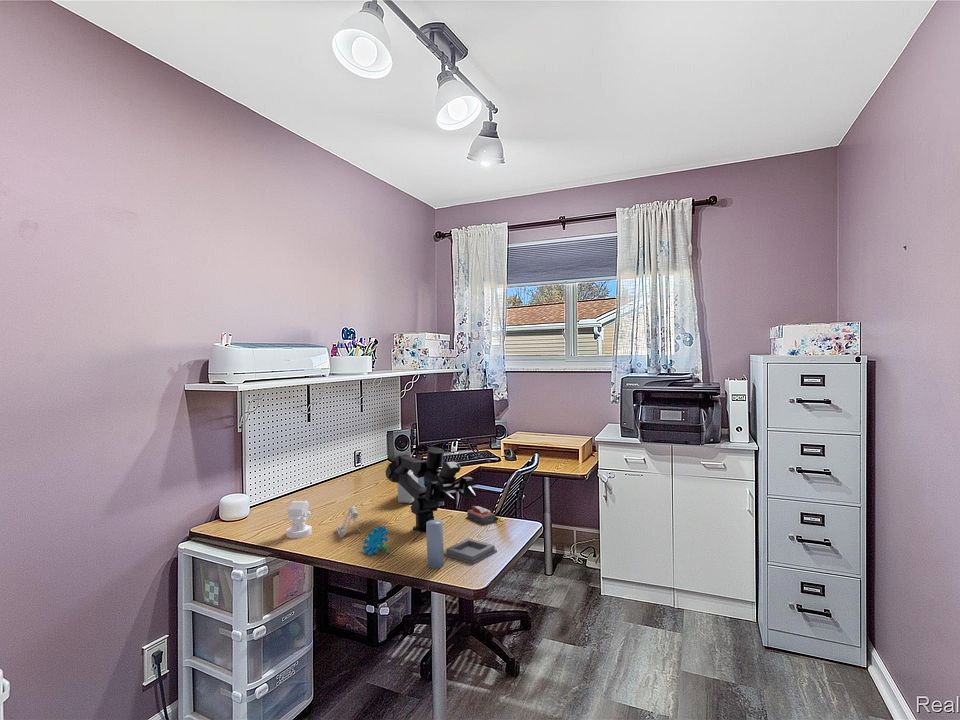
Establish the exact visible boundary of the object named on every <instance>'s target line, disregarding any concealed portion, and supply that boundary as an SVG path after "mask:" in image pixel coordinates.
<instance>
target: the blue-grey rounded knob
mask: <svg viewBox="0 0 960 720" xmlns="http://www.w3.org/2000/svg"><path fill="white" fill-rule="evenodd" d="M443 523H444V521H443V520H440V519H434V520H430V521H427V522H426V532H425V533H426V556H427V557H426V564H427V565H426V566H427V568H429V569H440V568H442V567H444V566H445V561H444V560H445V555H444V553H445V551H444V524H443Z"/></svg>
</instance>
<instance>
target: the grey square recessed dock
mask: <svg viewBox="0 0 960 720" xmlns="http://www.w3.org/2000/svg"><path fill="white" fill-rule="evenodd" d="M445 551H446V552H444V556H446V557H449V558H451V559H455V560H458V561H461V562H465V563H468V564H471V565H474V564H476V563H478V562H480V561H482V560H484V559H485V558H487V557H489V556H491V555H493V554H495V553H497V552H498V550H497V549H496V548H495V545H494V544H492V543H491V544H490V543H487V542H484V541H480V540H476V539H472V538H468V537H467V538H466V539H464V540H462V541H460V542H457V543H456V544H454V545H452V546H451V545H450V547H447V548H446V550H445Z"/></svg>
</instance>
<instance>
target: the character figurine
mask: <svg viewBox="0 0 960 720" xmlns="http://www.w3.org/2000/svg"><path fill="white" fill-rule="evenodd" d="M311 507H312V505H311V504H310V503H309V502H308V500H292V502H290V503H289V506H288V508H287V509H286V510H287V515H288V516H286V521H287V520H288V521H289V520H291V522H292V523H291V524H290V525H291V526H290V527H288V528H287V529H286V531H285V532H286V533H285V534H286V537H287V538H288V537H289V539H300V538H304V537H305V538H306V537H308V536H310V535H312V533H313V531H312V526H311V525H309V524H306V522H307V521H308V519H309V517H310V516H311V515H312V513H311V511H310V508H311Z"/></svg>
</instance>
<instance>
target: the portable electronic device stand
mask: <svg viewBox="0 0 960 720" xmlns="http://www.w3.org/2000/svg"><path fill="white" fill-rule="evenodd" d="M358 516H359V513H358V512H357V509H356V507H355V506H353V505H352V506H350V507H349V509H348V511H347V514H346V515H345V518H344V521H343V524H342V525H341V526H340V525H339V524H337V527H336V528H337V533H338V537H339V538H341V539H342V538H344V537H345V536H346V533H347V531H348V528H349V526H350V523H351V520H352V519H353V521H354V523H355V526H356V528H357V530H358V531H359V534H361V532H362V531H361V529H360V527H359V525H358V524H357V521H356V519H357V518H359V517H358ZM346 522H347V523H346ZM345 525H346V526H345ZM344 527H345V528H344Z"/></svg>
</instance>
